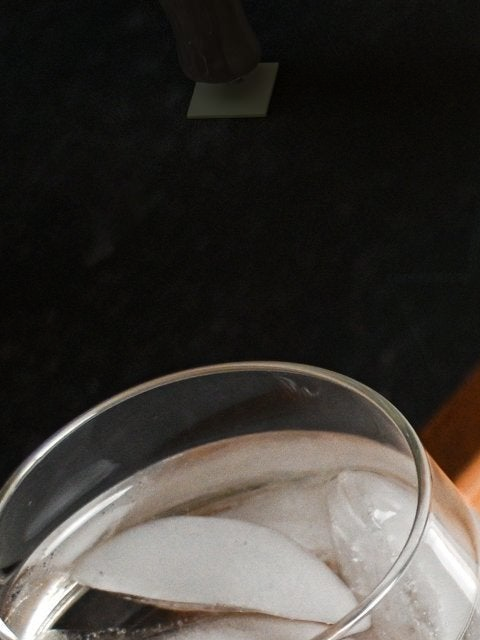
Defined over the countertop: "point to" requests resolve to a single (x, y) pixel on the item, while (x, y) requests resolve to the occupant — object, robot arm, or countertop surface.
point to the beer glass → (213, 39)
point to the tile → (236, 96)
